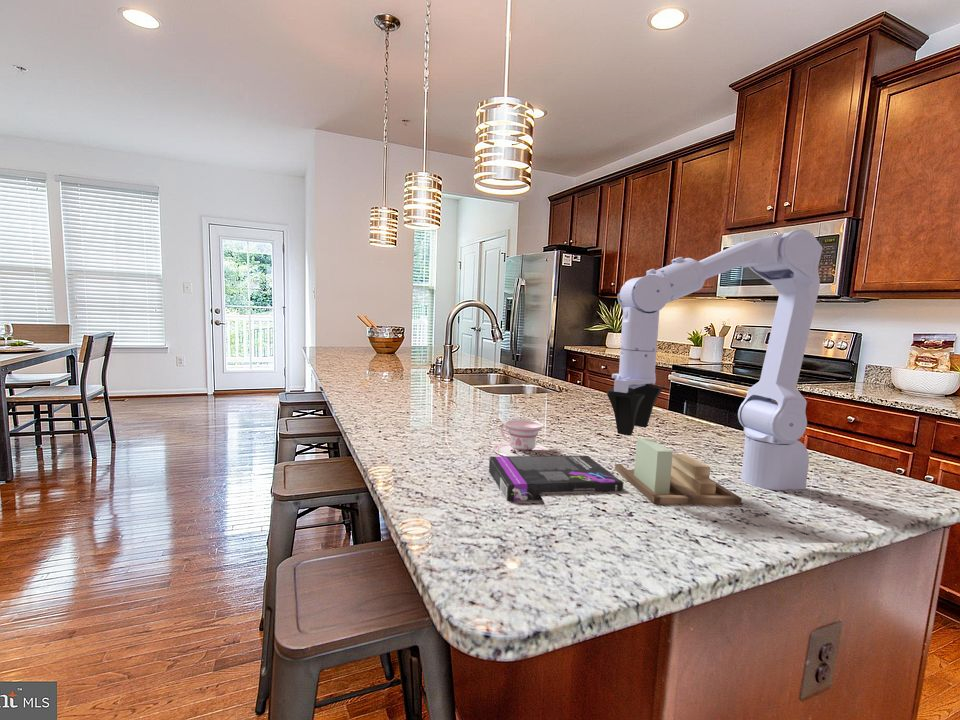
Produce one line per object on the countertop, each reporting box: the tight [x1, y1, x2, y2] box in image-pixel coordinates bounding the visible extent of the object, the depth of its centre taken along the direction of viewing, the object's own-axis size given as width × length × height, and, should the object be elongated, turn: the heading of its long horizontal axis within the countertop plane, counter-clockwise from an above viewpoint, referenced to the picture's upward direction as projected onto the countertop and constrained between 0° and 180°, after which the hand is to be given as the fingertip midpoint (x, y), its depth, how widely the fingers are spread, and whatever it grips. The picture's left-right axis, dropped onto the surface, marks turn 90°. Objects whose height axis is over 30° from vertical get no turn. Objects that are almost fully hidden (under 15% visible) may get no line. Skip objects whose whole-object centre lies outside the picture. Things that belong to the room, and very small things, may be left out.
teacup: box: [493, 418, 550, 457], centre depth 100 cm, size 12×12×6 cm
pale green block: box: [633, 437, 674, 494], centre depth 80 cm, size 2×8×7 cm, turn 5°
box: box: [488, 455, 624, 502], centre depth 82 cm, size 14×4×20 cm
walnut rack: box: [614, 463, 743, 506], centre depth 81 cm, size 14×16×2 cm
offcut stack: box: [671, 453, 717, 496], centre depth 81 cm, size 3×10×4 cm, turn 5°
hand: (632, 430), depth 80 cm, fingers open, 7 cm apart
